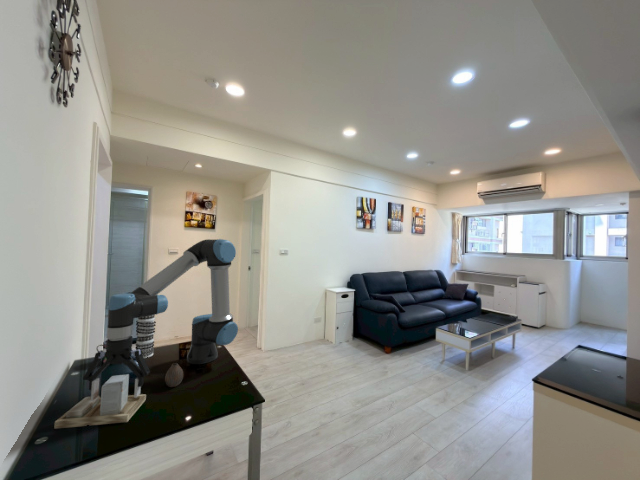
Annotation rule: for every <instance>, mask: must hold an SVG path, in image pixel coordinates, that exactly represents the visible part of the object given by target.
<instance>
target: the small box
mask: <svg viewBox="0 0 640 480" xmlns="http://www.w3.org/2000/svg"><path fill="white" fill-rule="evenodd" d="M129 379H130V374H129V373H127V374H119V375H111V376H110V377H109V379H107V381H105V382H104V383H103V384H102V386H101V392H100V398H101V405H100V416H106V415H117V414H119V413H120V412H121V410H122V409H123V407H124V406H125V404H126V403H127V398H128V395H129V381H130V380H129Z"/></svg>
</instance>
